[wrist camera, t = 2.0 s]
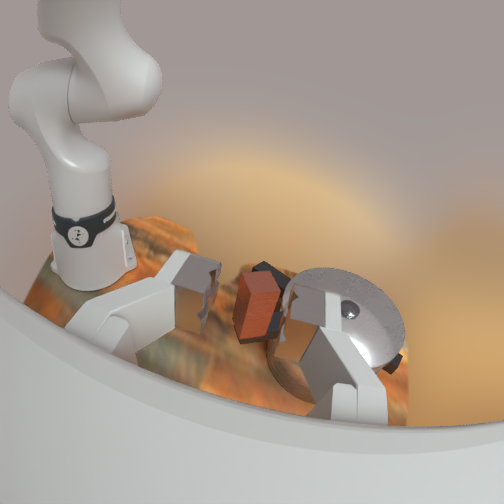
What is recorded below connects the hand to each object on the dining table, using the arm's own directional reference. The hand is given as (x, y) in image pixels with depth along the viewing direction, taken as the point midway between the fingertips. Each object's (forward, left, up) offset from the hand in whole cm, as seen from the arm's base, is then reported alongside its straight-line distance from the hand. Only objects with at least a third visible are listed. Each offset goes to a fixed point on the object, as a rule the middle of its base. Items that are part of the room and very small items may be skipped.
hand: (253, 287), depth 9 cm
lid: (-12, +18, -20) cm, 30 cm away
